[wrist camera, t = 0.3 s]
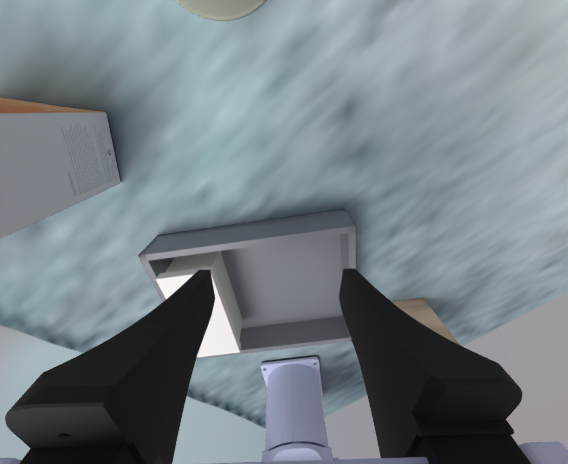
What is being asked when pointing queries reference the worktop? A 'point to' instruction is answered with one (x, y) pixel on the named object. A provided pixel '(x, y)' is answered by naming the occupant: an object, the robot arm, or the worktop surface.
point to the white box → (225, 312)
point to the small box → (50, 160)
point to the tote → (275, 275)
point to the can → (221, 8)
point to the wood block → (424, 316)
